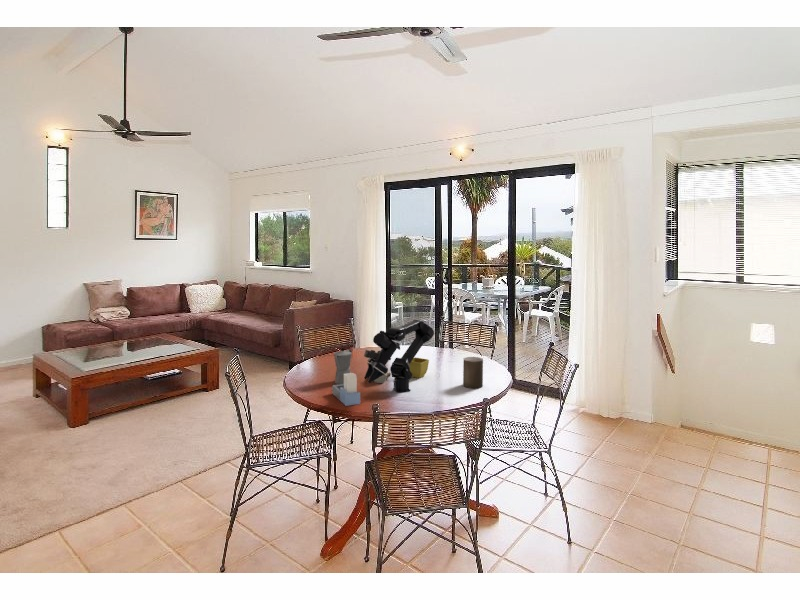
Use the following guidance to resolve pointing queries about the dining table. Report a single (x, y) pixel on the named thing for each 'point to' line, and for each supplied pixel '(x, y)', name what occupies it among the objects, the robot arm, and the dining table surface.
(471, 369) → the pillar candle
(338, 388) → the blue open box
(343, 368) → the coffeepot
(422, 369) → the flower pot
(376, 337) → the robot arm
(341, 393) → the light blue notched block
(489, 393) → the dining table surface
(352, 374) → the plug post
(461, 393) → the dining table surface
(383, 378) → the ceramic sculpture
